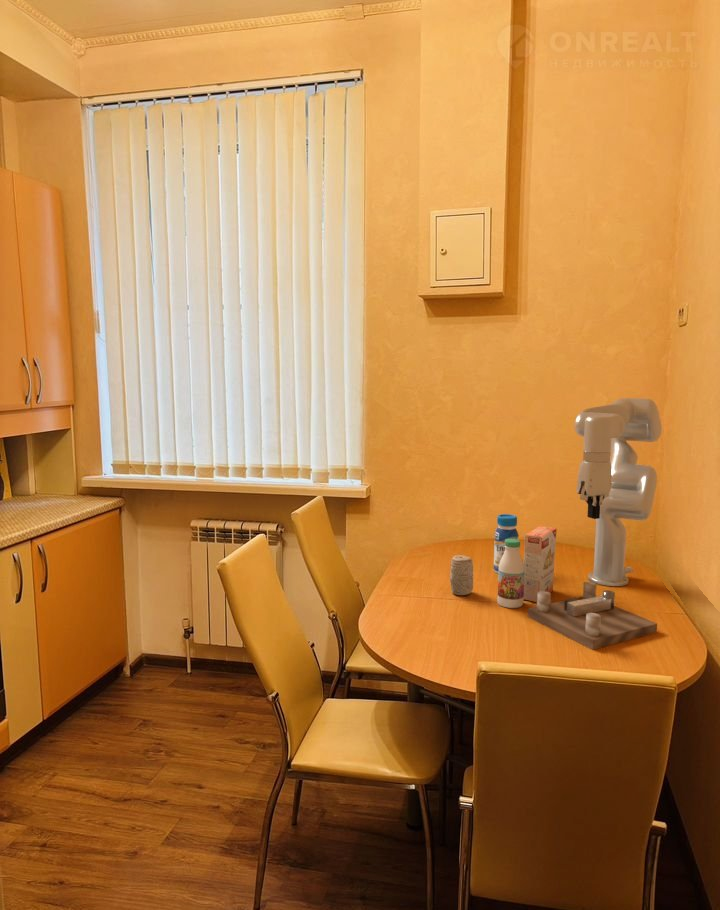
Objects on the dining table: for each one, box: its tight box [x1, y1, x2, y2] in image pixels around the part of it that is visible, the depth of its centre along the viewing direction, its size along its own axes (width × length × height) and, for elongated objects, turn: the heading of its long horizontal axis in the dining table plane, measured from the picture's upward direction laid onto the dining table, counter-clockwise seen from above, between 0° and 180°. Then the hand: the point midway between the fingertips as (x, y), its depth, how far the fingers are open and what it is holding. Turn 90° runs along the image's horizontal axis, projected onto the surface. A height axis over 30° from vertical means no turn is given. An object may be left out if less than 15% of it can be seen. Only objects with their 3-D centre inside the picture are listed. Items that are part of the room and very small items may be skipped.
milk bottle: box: [496, 539, 524, 609], centre depth 189 cm, size 8×8×20 cm
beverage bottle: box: [493, 513, 520, 574], centre depth 219 cm, size 8×8×20 cm
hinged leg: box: [567, 590, 616, 616], centre depth 178 cm, size 16×3×4 cm, turn 114°
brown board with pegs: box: [527, 581, 658, 651], centre depth 174 cm, size 24×24×8 cm
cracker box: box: [523, 525, 557, 603], centre depth 196 cm, size 14×6×21 cm, turn 146°
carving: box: [449, 554, 474, 596], centre depth 198 cm, size 6×8×12 cm
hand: (593, 517), depth 187 cm, fingers closed
